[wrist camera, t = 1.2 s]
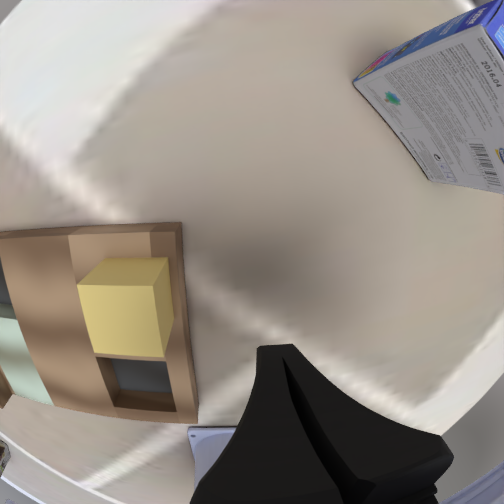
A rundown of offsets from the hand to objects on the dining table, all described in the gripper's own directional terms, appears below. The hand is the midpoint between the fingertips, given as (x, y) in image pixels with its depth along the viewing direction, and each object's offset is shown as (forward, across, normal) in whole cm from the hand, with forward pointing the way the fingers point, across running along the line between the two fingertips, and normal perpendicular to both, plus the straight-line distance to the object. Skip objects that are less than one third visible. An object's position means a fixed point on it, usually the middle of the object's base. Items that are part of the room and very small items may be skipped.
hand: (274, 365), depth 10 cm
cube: (+7, +7, 0) cm, 10 cm away
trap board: (+10, +15, +4) cm, 18 cm away
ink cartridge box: (+10, -12, -12) cm, 20 cm away
